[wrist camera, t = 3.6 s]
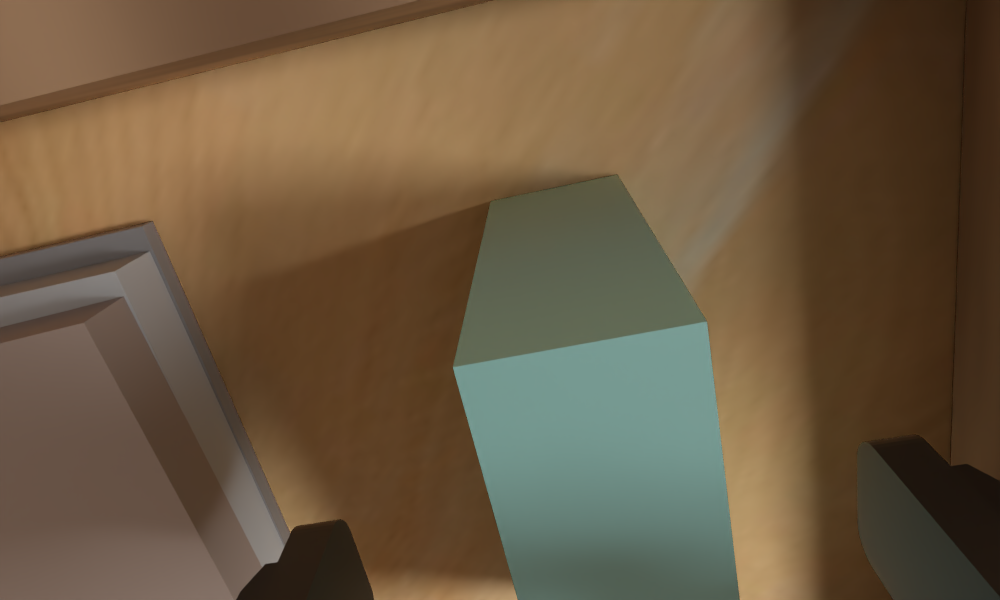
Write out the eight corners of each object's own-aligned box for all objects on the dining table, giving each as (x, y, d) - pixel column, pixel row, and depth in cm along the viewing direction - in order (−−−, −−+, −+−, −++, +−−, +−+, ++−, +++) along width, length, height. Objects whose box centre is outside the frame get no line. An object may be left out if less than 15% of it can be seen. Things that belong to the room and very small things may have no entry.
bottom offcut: (173, 211, 14) (142, 226, 13) (347, 619, 18) (334, 657, 17) (-70, 267, 15) (-118, 286, 14) (152, 648, 19) (129, 686, 18)
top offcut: (123, 296, 12) (83, 322, 11) (314, 669, 16) (298, 718, 15) (-145, 363, 13) (-207, 395, 12) (94, 705, 17) (63, 753, 16)
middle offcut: (149, 250, 13) (114, 271, 12) (328, 644, 17) (314, 686, 16) (-106, 310, 14) (-161, 334, 13) (120, 674, 18) (94, 716, 17)
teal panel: (617, 173, 13) (707, 321, 6) (679, 567, 16) (776, 919, 10) (490, 199, 13) (452, 367, 7) (579, 581, 17) (610, 931, 10)
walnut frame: (1080, -258, 10) (1409, -430, 6) (1004, 676, 17) (1135, 854, 13) (-238, 93, 13) (-551, 119, 9) (174, 769, 20) (92, 937, 16)
